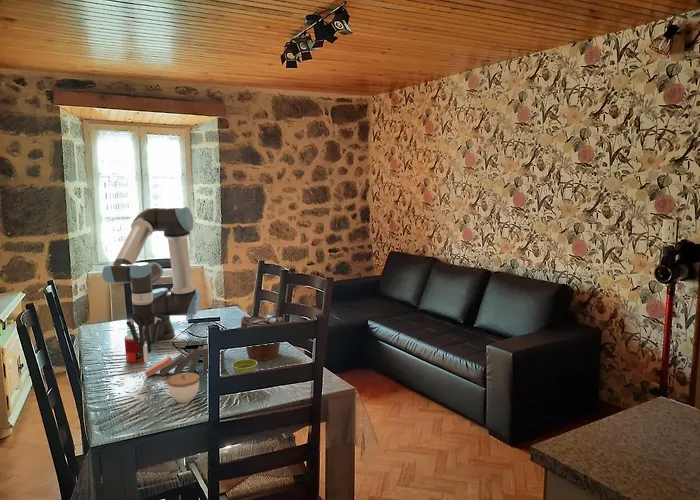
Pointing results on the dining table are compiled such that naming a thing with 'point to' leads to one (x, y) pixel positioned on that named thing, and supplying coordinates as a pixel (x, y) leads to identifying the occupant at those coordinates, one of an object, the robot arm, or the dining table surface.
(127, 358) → the canned food
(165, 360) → the domino
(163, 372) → the domino
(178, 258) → the robot arm
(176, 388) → the lidded jar
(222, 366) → the domino
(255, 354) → the brown basket
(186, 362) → the domino
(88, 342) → the dining table surface
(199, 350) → the domino
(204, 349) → the domino
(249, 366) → the plant pot
